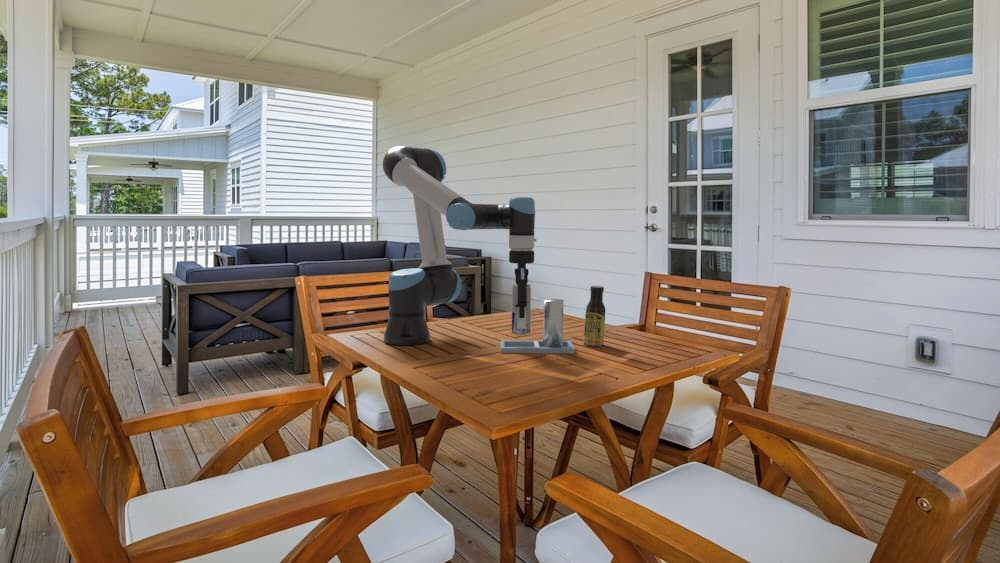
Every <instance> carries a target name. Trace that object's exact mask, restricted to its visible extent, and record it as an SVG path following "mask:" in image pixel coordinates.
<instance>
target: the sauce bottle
mask: <svg viewBox="0 0 1000 563" xmlns="http://www.w3.org/2000/svg"><path fill="white" fill-rule="evenodd" d="M604 291H605V288H604V286H602V285H590V299H589V302H588V303H587V305H586V307H585V308H586V309H585V314H584V317H585V318H584V328H583V346H585V347H589V348H601V347H603V346H604V339H605V327H606V326H605V323H606V322H605V321H606V306H605V304H604V301H603V300H604V299H603V297H604Z"/></svg>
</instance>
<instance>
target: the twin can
mask: <svg viewBox="0 0 1000 563" xmlns="http://www.w3.org/2000/svg"><path fill="white" fill-rule="evenodd" d="M542 318H543V320H542V321H543V323H542V324H543V326H542V330H543V333H542V341H543V347H548V348H563V341H564V299H561V298H545V299H543V317H542Z"/></svg>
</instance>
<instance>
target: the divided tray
mask: <svg viewBox="0 0 1000 563" xmlns="http://www.w3.org/2000/svg"><path fill="white" fill-rule="evenodd" d="M499 345H500V346H499V347H500V348H499V349H500V354H576V348H575V346H574V345H573V343H572V341H571V340H563V348H548V347H543V340H521V339H520V340H516V339H515V340H513V339H512V340H511V339H510V340H507V339H505V340H504V339H501V340H500V344H499Z"/></svg>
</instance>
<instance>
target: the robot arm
mask: <svg viewBox="0 0 1000 563" xmlns="http://www.w3.org/2000/svg"><path fill="white" fill-rule="evenodd" d="M382 169H383V173H384V174H385V176H386V177H387V178H388V179H389V180H390V181H391V182H392V183H394V184H395V185H397V186H398V187H404V188H406V189H407V190H408V191H409V192H410V193H412V196H413V204H414V209H415V218H416V224H417V233H418V234H417V235H418V241H419V247H420V249H419V250H420V257H421V263H420V265H419V266H418V268H417V267H416V268H415V267H414V268H413V267H411V268H403V269H399V270H396V271H393V272H391V273H390V274H389V276H388V284H387V288H388V321H387V323H386V328H385V331H384V333H383V342H384V343H386V344H389V345H395V346H415V345H422V344H425V343H428V342H430V340H431V331H429V327H428V323H427V320H426V317H425V316H426V313H425V311H426V310H425V308H426V307H429V306H430V307H431V306H436V305H445V304H447V303H452V302H453V301H455V300H456V299H457V298H458V296H459V295H460V293H461V290H462V279H461V275H460V274H459V273H458V271H456V270H455V269H453V263H452V262H451V261H450V260H448V258H447V251H446V244H445V243H446V242H445V238H444V236H445V235H444V227H443V222H442V215H444V217H446V218H445V219H446V222H447V223H448V226H449V228H452V229H453V230H460V231H469V230H508V232H509V235H508V248H509V249H510V250H509V252H508V262H509V263H511V264H517V266H516V268H514V275H515V277H514V278H515V279H514V280H515V284H517V285H518V304H517V305H515V307H517V329H526V306H527V284H528V283H529V282H528V281H529V277H528V275H529V269H528V268H527V264H533V263H535V251H534V250H533V249H534V248H535V242H536V243H537V238H535V221H536V208H535V207H536V205H535V199H534V198H533V197H528V196H527V197H525V196H524V197H521V196H519V197H518V196H515V197H510V198H509V203H507V204H502V203H501V204H497V203H495V204H494V203H490V204H489V203H486V204H485V203H472V202H470V201H468V200H467V199H466V198H464V197H463V196H462V195H459V194H458V193H457V192H455V191H454V190H452V189H451V188H449V187H448V186H446V184H443V181H444V180H445V177H446V176H445V175H446V174H447V165H446V161H445V159H444V157H443V155H442V154H440V153H439V152H438V151H436V150H434V149H430V148H421V147H412V146H406V145H398V146H395V147H394V146H393V147H392V148H390V149H389V150H387V151H386V153H385V154H384V157H383V160H382Z"/></svg>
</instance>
